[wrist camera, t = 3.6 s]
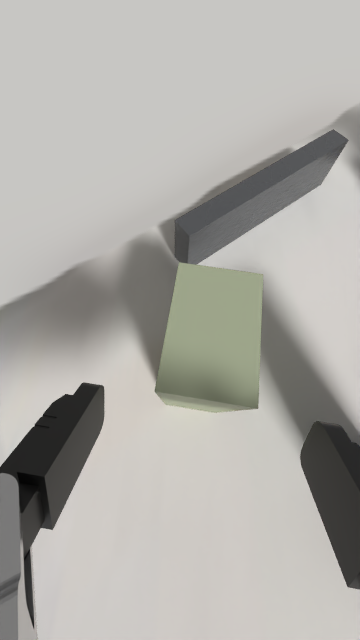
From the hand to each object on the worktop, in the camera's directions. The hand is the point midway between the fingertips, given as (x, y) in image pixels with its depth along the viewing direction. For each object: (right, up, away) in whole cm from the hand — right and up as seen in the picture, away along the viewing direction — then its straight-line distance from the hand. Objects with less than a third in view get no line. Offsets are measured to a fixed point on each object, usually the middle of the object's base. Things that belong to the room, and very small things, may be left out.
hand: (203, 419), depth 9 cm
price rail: (+7, +15, +18) cm, 24 cm away
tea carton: (0, -1, +11) cm, 11 cm away
